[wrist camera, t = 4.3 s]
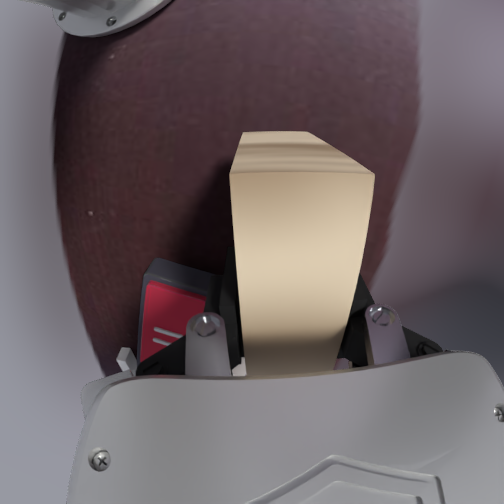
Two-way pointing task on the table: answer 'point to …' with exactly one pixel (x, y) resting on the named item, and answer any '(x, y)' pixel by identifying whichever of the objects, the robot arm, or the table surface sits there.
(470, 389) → the robot arm
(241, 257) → the block
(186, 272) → the calculator
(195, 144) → the table surface
